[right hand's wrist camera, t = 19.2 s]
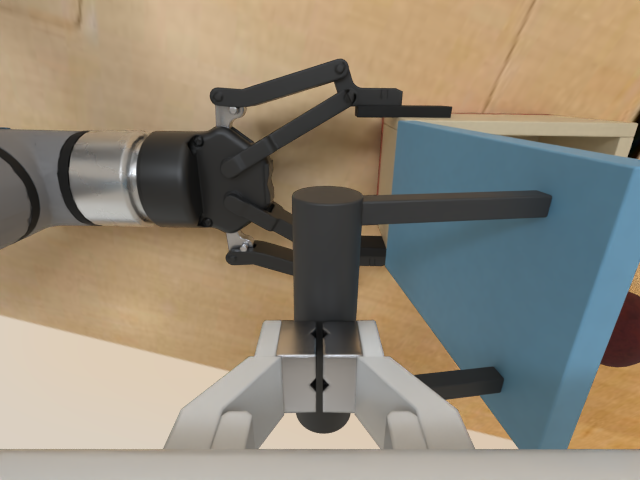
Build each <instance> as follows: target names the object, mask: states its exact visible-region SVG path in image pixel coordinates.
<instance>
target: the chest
mask: <svg viewBox="0 0 640 480" xmlns="http://www.w3.org/2000/svg"><path fill="white" fill-rule="evenodd" d="M399 120H415V121H420V122H426V123H432V124H438V125H443V126H449V127H455V128H461V129H466V130H472V131H478V132H483V133H489V134H495V135H501V136H506V137H512V138H518V139H524V140H529V141H535V142H541V143H546V144H552V145H558V146H564V147H569V148H575V149H581V150H587V151H592V152H598V153H604V154H609V155H615V156H621V157H627V156H628V153H629V150H630V147H631V144H632V141H633V137H634V135H635V132H636V129H637V126H638V124H637V123H631V122H621V121H610V120H600V119H589V118H578V117H568V116H557V115H549V114H478V113H451V118H412V117H398V118H382V132H381V145H380V159H379V172H378V186H377V195H392V183H393V172H394V161H395V150H396V139H397V128H398V121H399ZM378 227H379V230H380V232H381V235H382V238H383V241H384V243H385V246H386V249H387V239H388V228H389V224H382V225H378Z"/></svg>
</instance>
